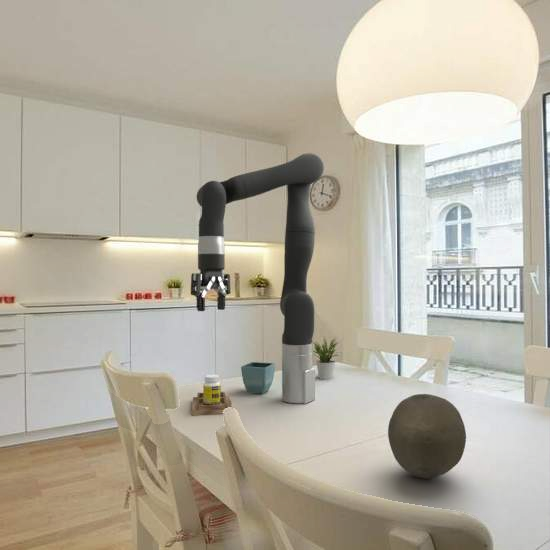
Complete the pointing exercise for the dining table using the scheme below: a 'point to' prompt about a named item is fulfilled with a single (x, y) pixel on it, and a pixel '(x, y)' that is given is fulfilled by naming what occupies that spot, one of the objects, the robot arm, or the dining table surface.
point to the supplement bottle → (211, 390)
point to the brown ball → (426, 435)
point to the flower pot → (258, 376)
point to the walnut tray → (209, 409)
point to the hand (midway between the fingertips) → (211, 310)
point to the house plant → (325, 359)
